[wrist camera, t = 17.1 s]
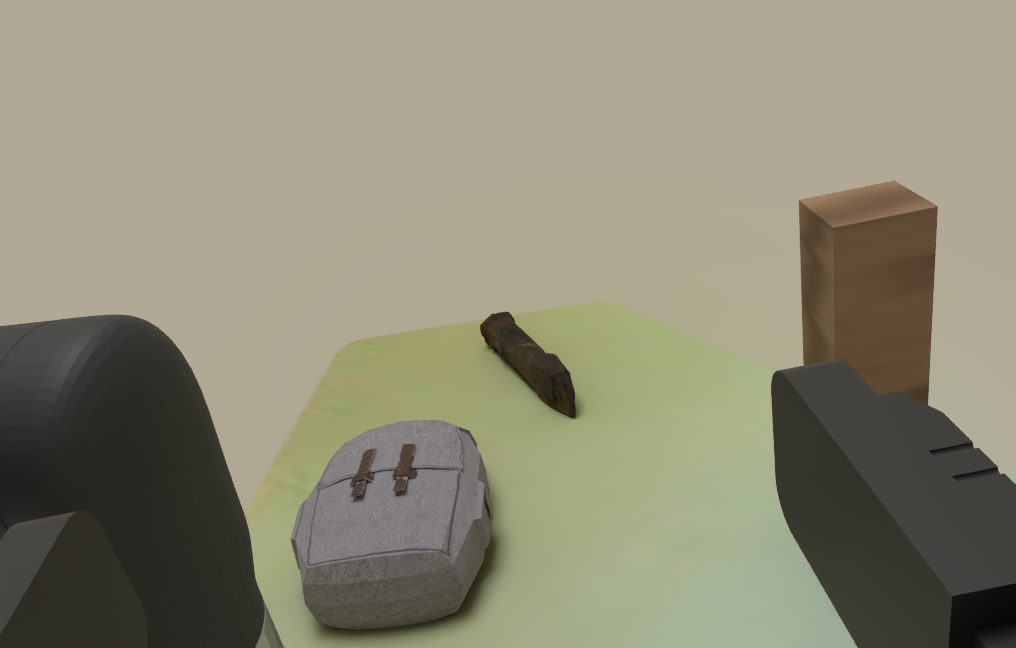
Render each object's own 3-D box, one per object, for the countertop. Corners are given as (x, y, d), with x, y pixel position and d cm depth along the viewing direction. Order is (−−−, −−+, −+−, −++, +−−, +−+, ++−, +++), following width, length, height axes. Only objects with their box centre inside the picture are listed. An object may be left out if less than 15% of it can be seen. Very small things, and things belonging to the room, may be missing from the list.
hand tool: (484, 348, 95) (475, 312, 92) (517, 337, 96) (509, 300, 93) (548, 431, 78) (539, 389, 76) (587, 416, 79) (579, 374, 77)
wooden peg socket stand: (1249, 881, 37) (1412, 437, 27) (1025, 926, 37) (1097, 500, 27) (913, 481, 63) (926, 174, 52) (781, 508, 63) (767, 206, 53)
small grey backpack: (497, 625, 59) (504, 452, 76) (473, 532, 55) (486, 374, 73) (288, 649, 60) (342, 475, 78) (251, 561, 56) (317, 399, 74)
